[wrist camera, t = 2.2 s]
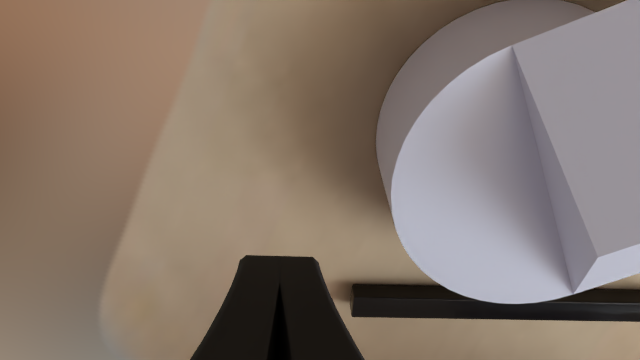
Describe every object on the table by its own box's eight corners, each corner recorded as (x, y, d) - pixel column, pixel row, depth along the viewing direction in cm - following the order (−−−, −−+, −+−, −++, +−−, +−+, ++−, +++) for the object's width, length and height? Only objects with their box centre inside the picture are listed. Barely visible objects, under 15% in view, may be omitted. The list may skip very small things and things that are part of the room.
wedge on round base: (770, -110, 17) (336, 65, 19) (1021, -73, 11) (358, 173, 13) (774, 152, 21) (421, 273, 23) (955, 276, 16) (466, 422, 18)
